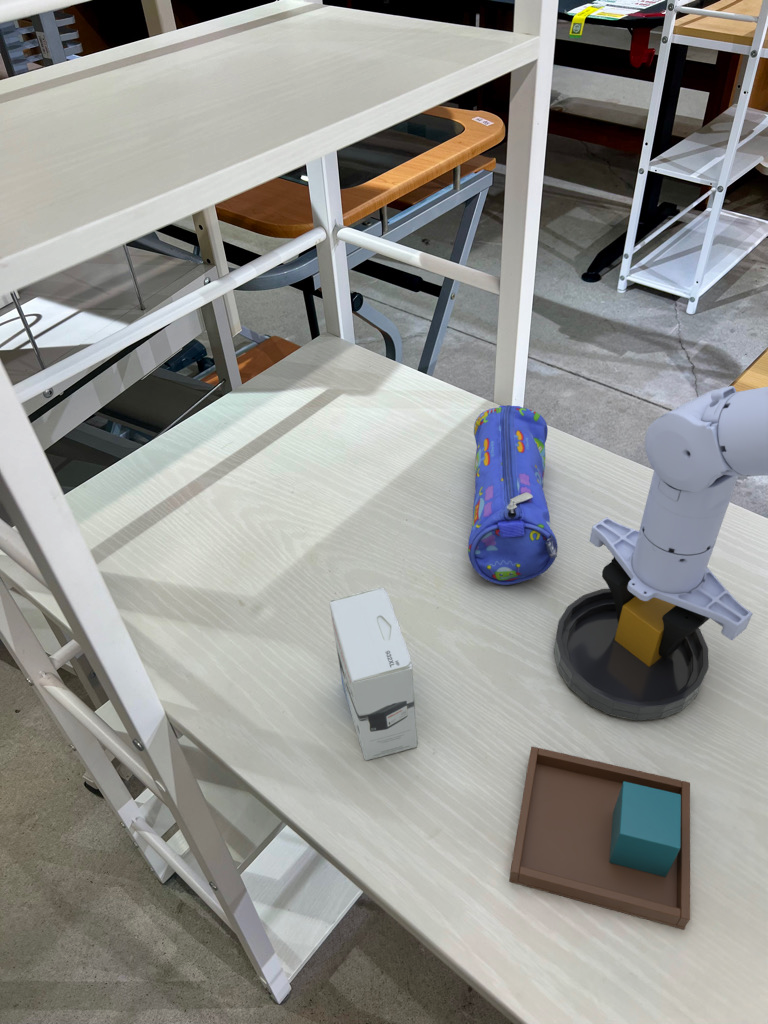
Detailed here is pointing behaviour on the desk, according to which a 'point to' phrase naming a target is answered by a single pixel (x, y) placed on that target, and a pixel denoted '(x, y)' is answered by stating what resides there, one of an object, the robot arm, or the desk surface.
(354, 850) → the desk surface
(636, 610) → the mustard block
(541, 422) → the pencil case
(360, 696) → the ink box
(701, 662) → the pan
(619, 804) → the teal block
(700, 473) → the robot arm
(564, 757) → the tray
